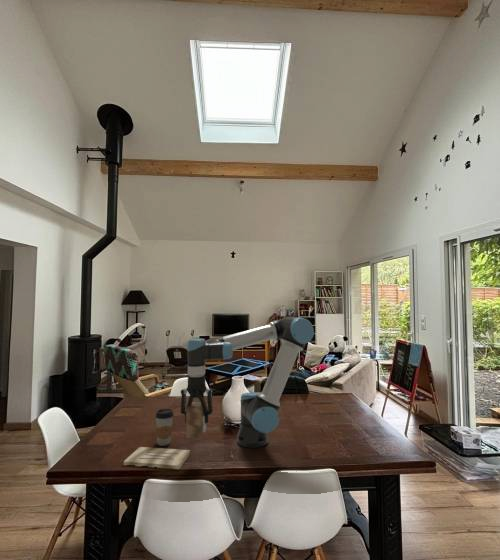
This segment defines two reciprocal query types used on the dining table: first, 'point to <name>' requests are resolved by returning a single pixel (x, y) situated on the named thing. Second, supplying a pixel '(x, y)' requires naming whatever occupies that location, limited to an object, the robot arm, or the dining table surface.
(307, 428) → the dining table surface
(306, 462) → the dining table surface
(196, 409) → the block
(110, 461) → the dining table surface
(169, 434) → the coffee cup
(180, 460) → the board
